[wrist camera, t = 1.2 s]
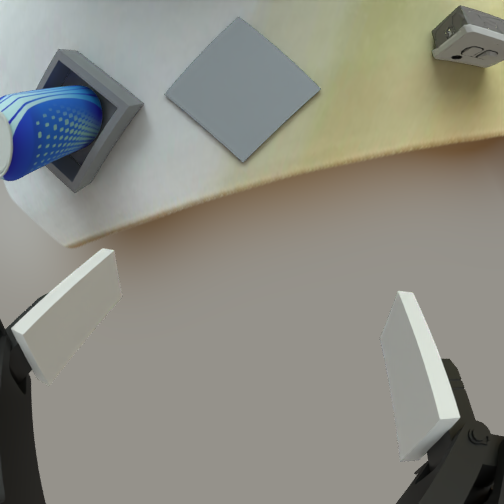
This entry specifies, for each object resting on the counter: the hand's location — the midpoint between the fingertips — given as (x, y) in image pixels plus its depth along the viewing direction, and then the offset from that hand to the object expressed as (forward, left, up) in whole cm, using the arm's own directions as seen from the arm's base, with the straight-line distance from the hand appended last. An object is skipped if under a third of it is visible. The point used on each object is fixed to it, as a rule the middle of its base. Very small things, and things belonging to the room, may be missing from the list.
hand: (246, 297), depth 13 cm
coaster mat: (-8, +5, -23) cm, 25 cm away
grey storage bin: (-22, -10, -23) cm, 34 cm away
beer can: (-22, -10, -24) cm, 34 cm away
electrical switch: (+4, +30, -24) cm, 38 cm away
